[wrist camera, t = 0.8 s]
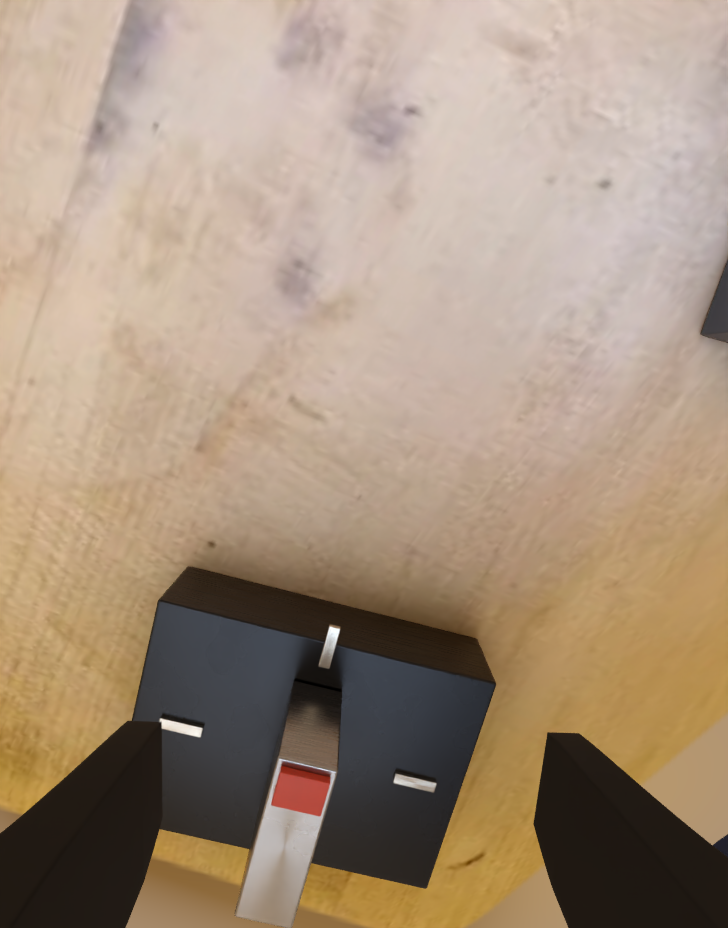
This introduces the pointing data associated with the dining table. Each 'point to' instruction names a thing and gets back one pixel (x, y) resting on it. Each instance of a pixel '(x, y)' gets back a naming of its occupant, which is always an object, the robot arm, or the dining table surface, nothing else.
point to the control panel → (264, 704)
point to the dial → (292, 806)
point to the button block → (718, 312)
